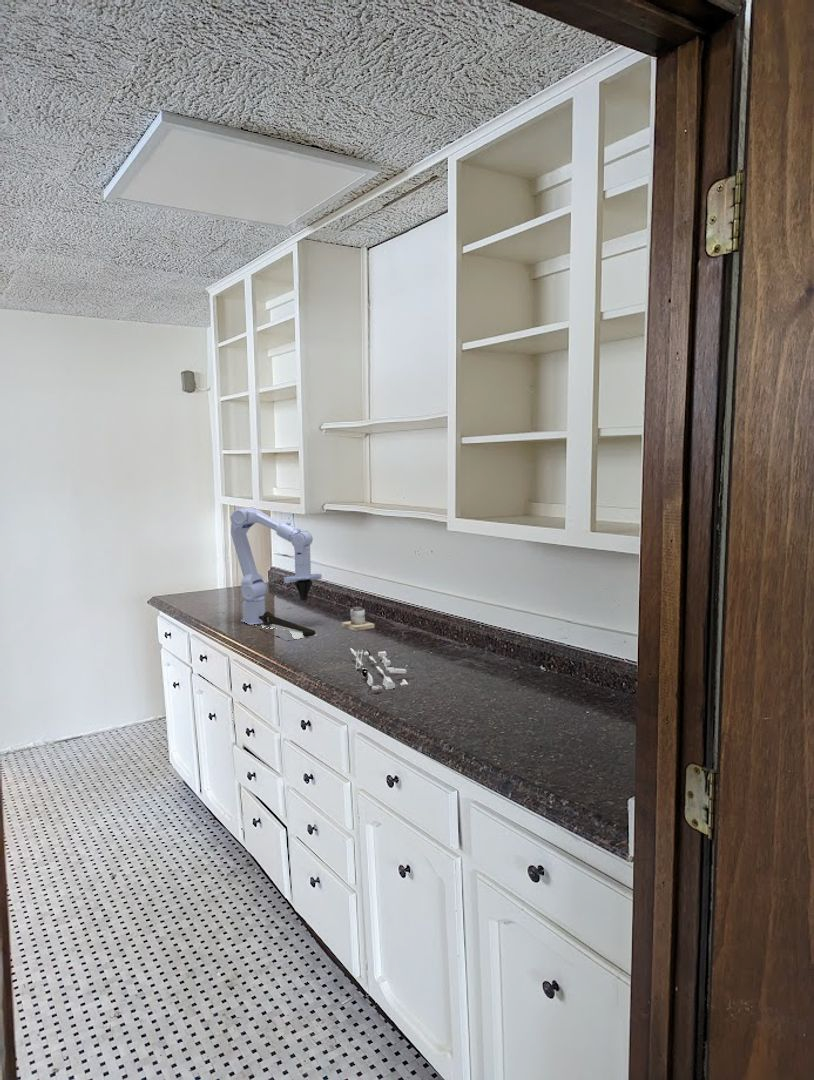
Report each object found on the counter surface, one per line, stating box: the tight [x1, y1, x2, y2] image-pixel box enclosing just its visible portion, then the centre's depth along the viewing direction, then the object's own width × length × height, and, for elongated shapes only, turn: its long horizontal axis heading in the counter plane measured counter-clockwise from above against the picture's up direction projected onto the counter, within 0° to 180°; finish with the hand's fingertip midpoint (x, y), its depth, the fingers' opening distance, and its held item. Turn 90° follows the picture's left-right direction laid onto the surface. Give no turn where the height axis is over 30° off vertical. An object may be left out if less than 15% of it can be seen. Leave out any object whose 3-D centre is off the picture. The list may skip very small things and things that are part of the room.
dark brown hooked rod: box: [259, 611, 316, 638], centre depth 256 cm, size 5×5×30 cm
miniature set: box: [349, 647, 409, 691], centre depth 203 cm, size 6×35×12 cm
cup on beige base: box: [341, 606, 375, 632], centre depth 260 cm, size 10×8×7 cm
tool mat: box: [260, 624, 319, 640], centre depth 256 cm, size 28×12×1 cm, turn 37°
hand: (303, 600), depth 263 cm, fingers closed
